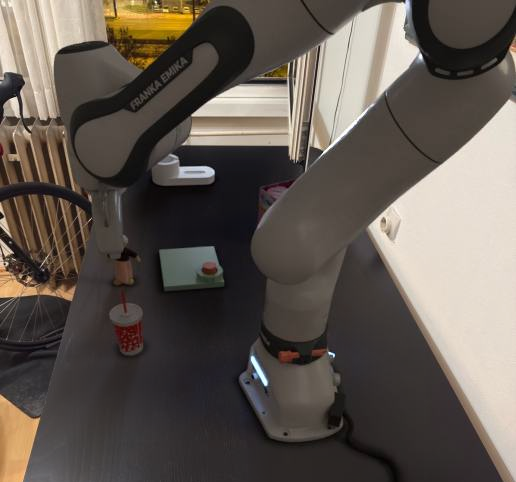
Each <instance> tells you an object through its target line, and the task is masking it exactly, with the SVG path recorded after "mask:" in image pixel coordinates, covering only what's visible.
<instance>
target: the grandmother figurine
mask: <svg viewBox="0 0 516 482" xmlns="http://www.w3.org/2000/svg"><path fill="white" fill-rule="evenodd" d="M128 243H129V239H128V237H127V236H126V235H125V234H123V252H122V253H121V257H120V258H119V259H114V261H113V263H114V275H115V279H114V281H113V284H114V285H115V286H121V285H122V284H125V286H131V285H134V279H133V277H134V275H133V267H132V261H131V259H134V260H135V262H136V263H139V264H140V263H141V260H142V259H141V258H140V257H139V254H138V253H137V252H136V251H134V250H133V249H131V248H129V247H126V246H127V245H128ZM111 260H112V259H111V258H110V257H109V254H106V259H105V262H106V264H110V262H111Z"/></svg>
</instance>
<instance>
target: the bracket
mask: <svg viewBox="0 0 516 482" xmlns="http://www.w3.org/2000/svg"><path fill="white" fill-rule="evenodd" d="M215 175H216V174H215V170H214V169H213V168H212V167H210V166H207V165H201V166H197V165H196V166H195V165H194V166H180V160H179V157H178V156H177V155H175V154H173V153H171V154H170V155H168V156H167V157H166V158H164V159H163V160H162V161H160V162H159V163H158V164H156V165H155V166H154V167H152V168H151V177H152V178H151V179H152V182H153V183H154V184H155V185H159V186H165V187H166V186H167V187H168V186H169V187H170V186H198V185H200V186H202V185H211V184H212V183H214V182H215V178H216V177H215Z"/></svg>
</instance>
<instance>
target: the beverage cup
mask: <svg viewBox="0 0 516 482" xmlns="http://www.w3.org/2000/svg"><path fill="white" fill-rule="evenodd" d="M120 293H121V300H122V303H120V304H117V305H115V306H113V307H112V308H111V309H110V311H109V313H108V316H109V319H110V322H112V325H113V329H114V333H115V336H116V340H117V344H118V348H119V351H120V353H121V354H122V355H125V356H136V355H138V354H140V353H141V352H142V351H143V349H144V336H143V313H144V312H143V309H142V307H140V306H139V304H135V303H129V302H126V296H125V290H121V291H120Z"/></svg>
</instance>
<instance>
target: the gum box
mask: <svg viewBox="0 0 516 482" xmlns="http://www.w3.org/2000/svg"><path fill="white" fill-rule="evenodd" d="M298 178H299V177H298ZM298 178H293V179H288V180H284V181H280V182H276V183H270V184H268V185H262V186H259V195H258V211H257V226H258V224H259V222H260V220H261V218H262V217H263V215H264V213H265V212H266V211H267V210H268V209H269V208H270V207H271V206H272V205H273V204H274V203H275V202H276V201H277V200H278V198H279V197H280V196H281V195H282V194H283V193H284V192H285V191H286V190H287V189H288V188H289V187H290V186H291V185H292V184H293V183H294V182H295V181H296V180H297V179H298ZM257 226H256V227H257Z"/></svg>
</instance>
